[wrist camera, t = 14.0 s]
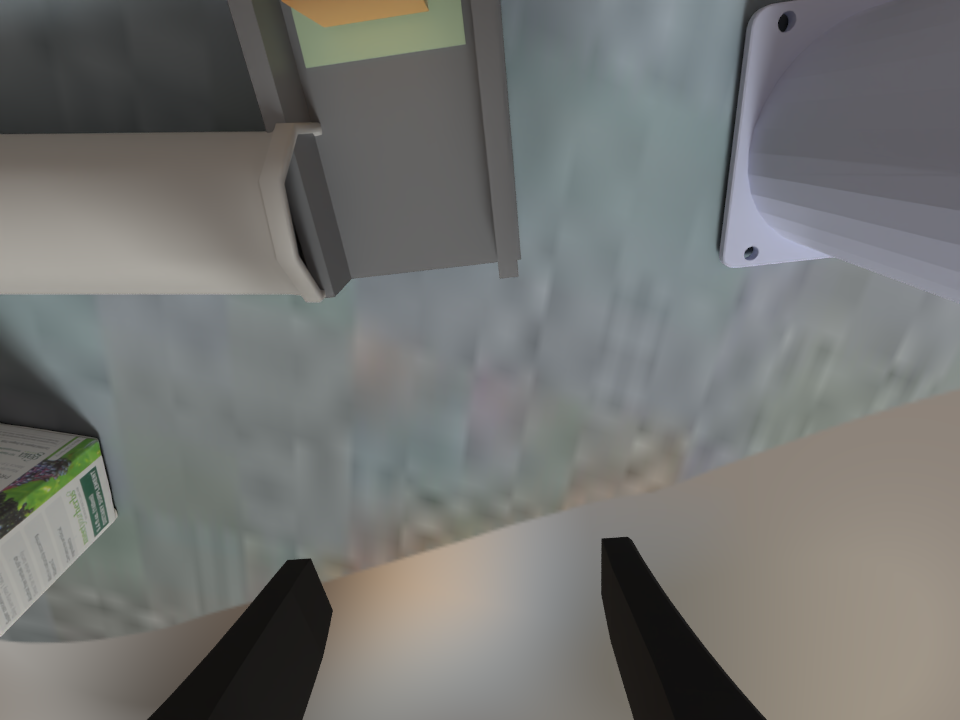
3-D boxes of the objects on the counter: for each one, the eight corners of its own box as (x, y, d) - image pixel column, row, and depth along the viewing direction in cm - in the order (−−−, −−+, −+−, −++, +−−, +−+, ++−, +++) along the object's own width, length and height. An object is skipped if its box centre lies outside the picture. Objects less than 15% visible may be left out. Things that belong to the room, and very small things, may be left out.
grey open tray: (229, -155, 12) (142, -250, 9) (481, -203, 12) (478, -320, 9) (342, 269, 18) (311, 299, 15) (518, 249, 17) (524, 275, 14)
